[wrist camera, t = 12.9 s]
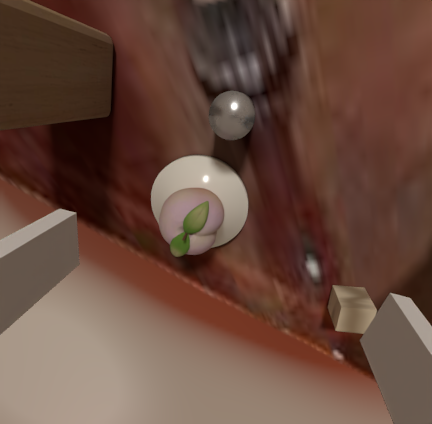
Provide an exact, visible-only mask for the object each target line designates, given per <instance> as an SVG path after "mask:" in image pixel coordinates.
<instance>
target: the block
mask: <svg viewBox="0 0 432 424" xmlns="http://www.w3.org/2000/svg"><path fill="white" fill-rule="evenodd" d="M112 63H113V42H112V39H111V37H109V36H108V35H107V34H106V33H103V32H101V31H99V30H97V29H94V28H92V27H90V26H87V25H85V24H83V23H80V22H78V21H76V20H73V19H71V18H69V17H66V16H64V15H62V14H59V13H57V12H55V11H53V10H50V9H48V8H46V7H43V6H41V5H39V4H36V3H34V2H32V1H29V0H0V130H6V129H14V128H22V127H30V126H38V125H46V124H54V123H62V122H70V121H78V120H86V119H94V118H102V117H108V116H109V114H110V111H111V89H112Z"/></svg>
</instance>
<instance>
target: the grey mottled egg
mask: <svg viewBox="0 0 432 424" xmlns="http://www.w3.org/2000/svg"><path fill="white" fill-rule="evenodd" d="M254 120H255V107H254V104H253V102H252V100H251V99H250V98H249V97H248V96H247V95H245V94H243V93H240V92H237V91H227V92H224V93H222V94H220V95H219V96H218V97H216V99H215V100H214V101H213V103H212V104H211V107H210V110H209V122H210V125H211V128H212V129H213V131H214V132H215V133H216V134H217V135H218V136H219V137H221V138H223V139H226V140H237V139H240V138H242V137H244V136H245V135H246V134H247V133H248V132H249V131H250V130H251V128H252V126H253V124H254Z"/></svg>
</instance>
